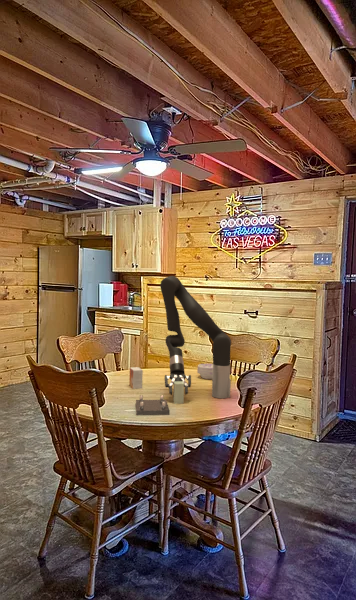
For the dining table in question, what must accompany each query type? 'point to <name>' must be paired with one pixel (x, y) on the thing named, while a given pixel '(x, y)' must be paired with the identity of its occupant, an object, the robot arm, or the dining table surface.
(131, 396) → the dining table surface
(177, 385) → the beige tall block
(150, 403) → the pin plate
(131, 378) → the small box
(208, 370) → the paper bowls
